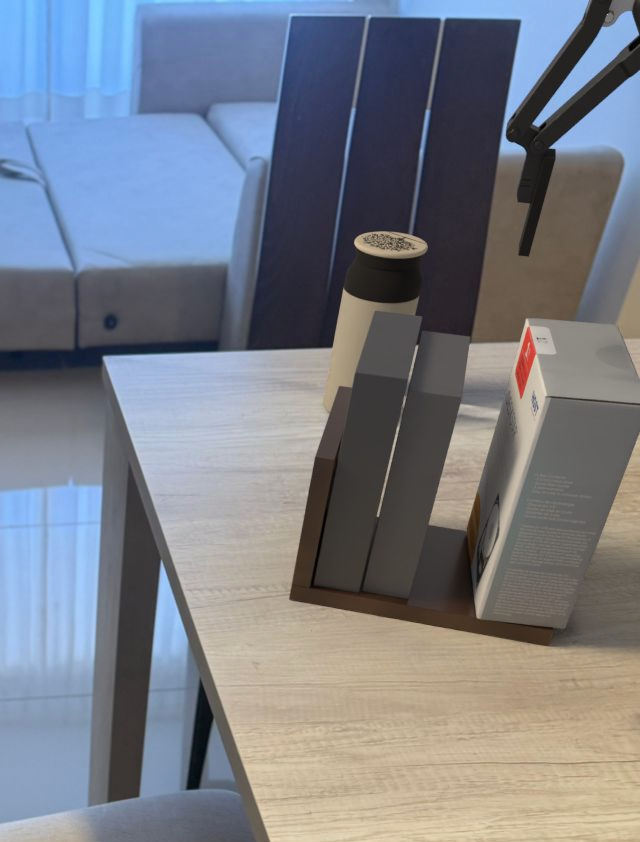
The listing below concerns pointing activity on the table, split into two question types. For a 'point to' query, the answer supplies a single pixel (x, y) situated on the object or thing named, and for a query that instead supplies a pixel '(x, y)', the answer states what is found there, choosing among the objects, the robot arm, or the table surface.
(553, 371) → the hard drive box
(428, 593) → the book rack
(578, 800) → the table surface
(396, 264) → the travel mug
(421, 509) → the grey books
